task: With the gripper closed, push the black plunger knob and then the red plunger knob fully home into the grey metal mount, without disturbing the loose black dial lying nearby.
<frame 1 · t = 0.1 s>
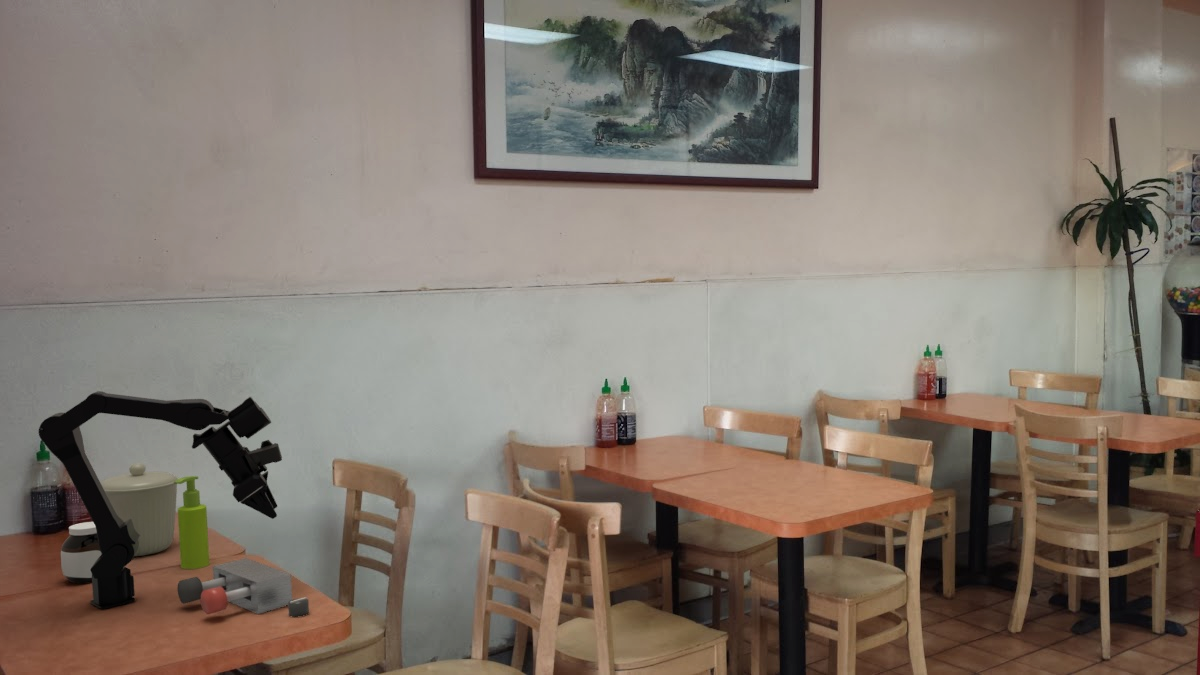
hand: (275, 512, 205), 15 cm above the table, tool tilted 35°, fingers open, 9 cm apart
canister: (142, 552, 236), on the table
dial: (298, 614, 186), on the table
mount: (252, 599, 195), on the table
spread jar: (89, 577, 216), on the table
red knob: (237, 594, 188), point 4 cm above the table, slide at 0.0 cm
soap dispenser: (193, 566, 221), on the table
black knob: (212, 584, 195), point 4 cm above the table, slide at 0.0 cm
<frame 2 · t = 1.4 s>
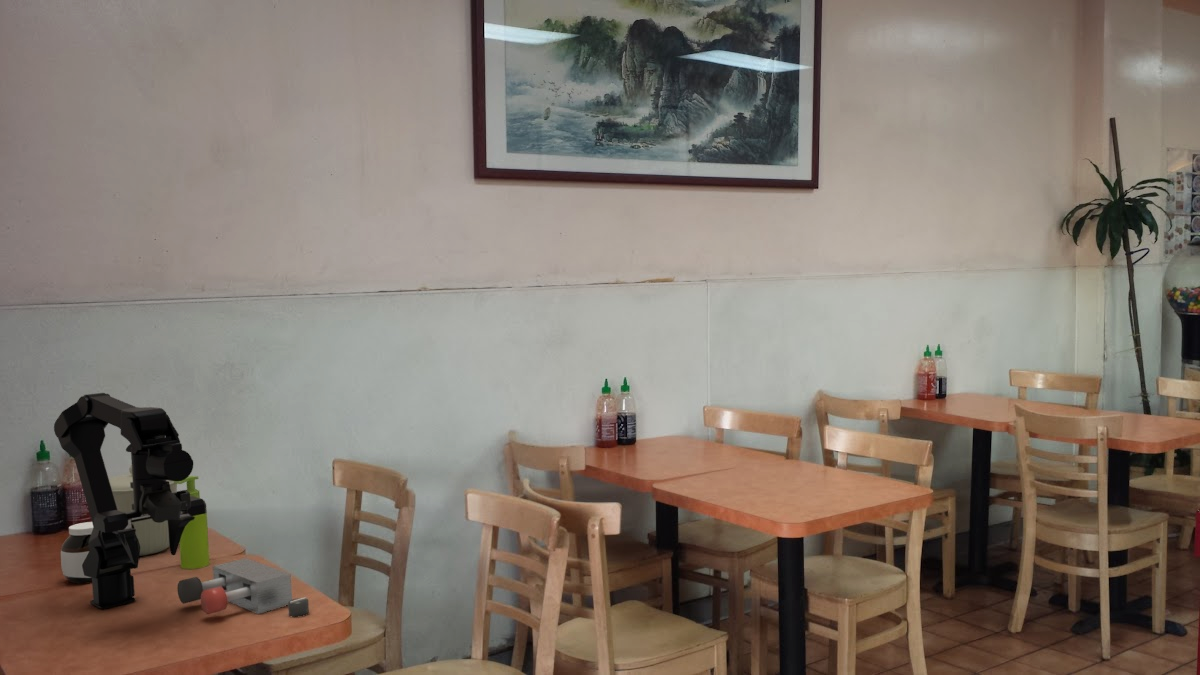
hand: (154, 559, 186), 11 cm above the table, tool pointing down, fingers open, 7 cm apart
nothing on the table moved.
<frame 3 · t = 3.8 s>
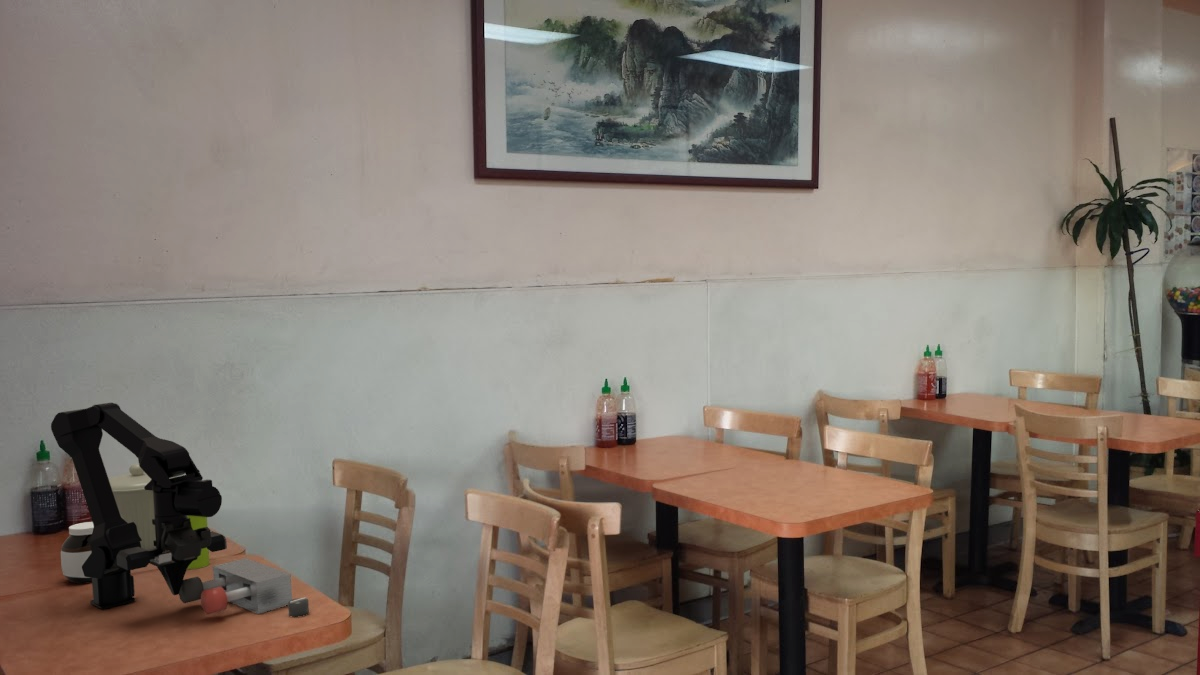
hand: (175, 594, 189), 3 cm above the table, tool pointing down, fingers closed
black knob: (213, 584, 195), point 4 cm above the table, slide at 0.2 cm, touching gripper
everything else where it was.
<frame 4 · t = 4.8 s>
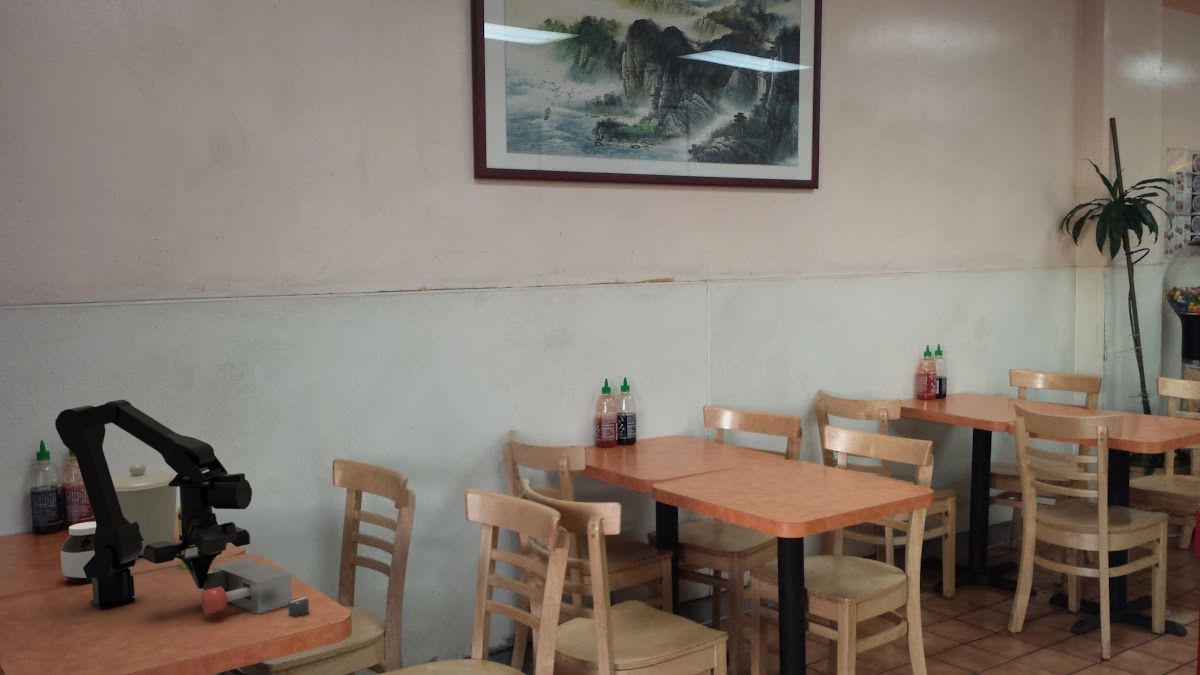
hand: (200, 588, 193), 3 cm above the table, tool pointing down, fingers closed
black knob: (236, 578, 198), point 4 cm above the table, slide at 4.9 cm, touching gripper
everything else where it was.
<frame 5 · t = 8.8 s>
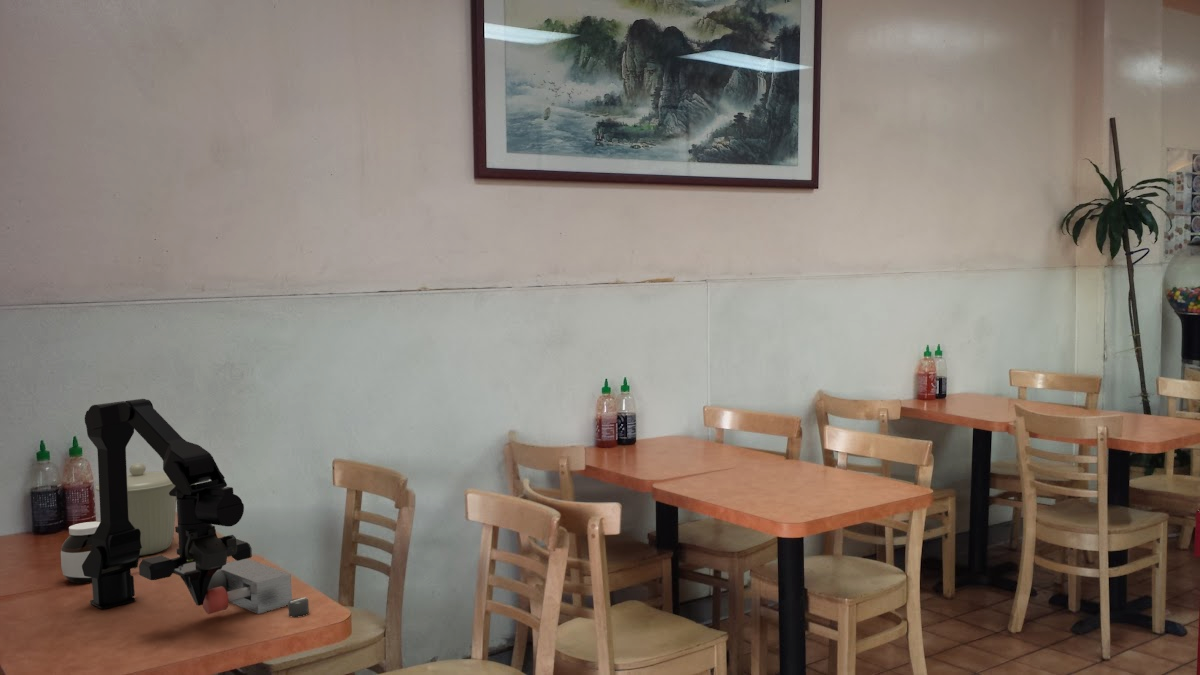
hand: (199, 605, 183), 3 cm above the table, tool pointing down, fingers closed
red knob: (238, 593, 188), point 4 cm above the table, slide at 0.3 cm, touching gripper
black knob: (236, 578, 198), point 4 cm above the table, slide at 4.8 cm
everything else where it was.
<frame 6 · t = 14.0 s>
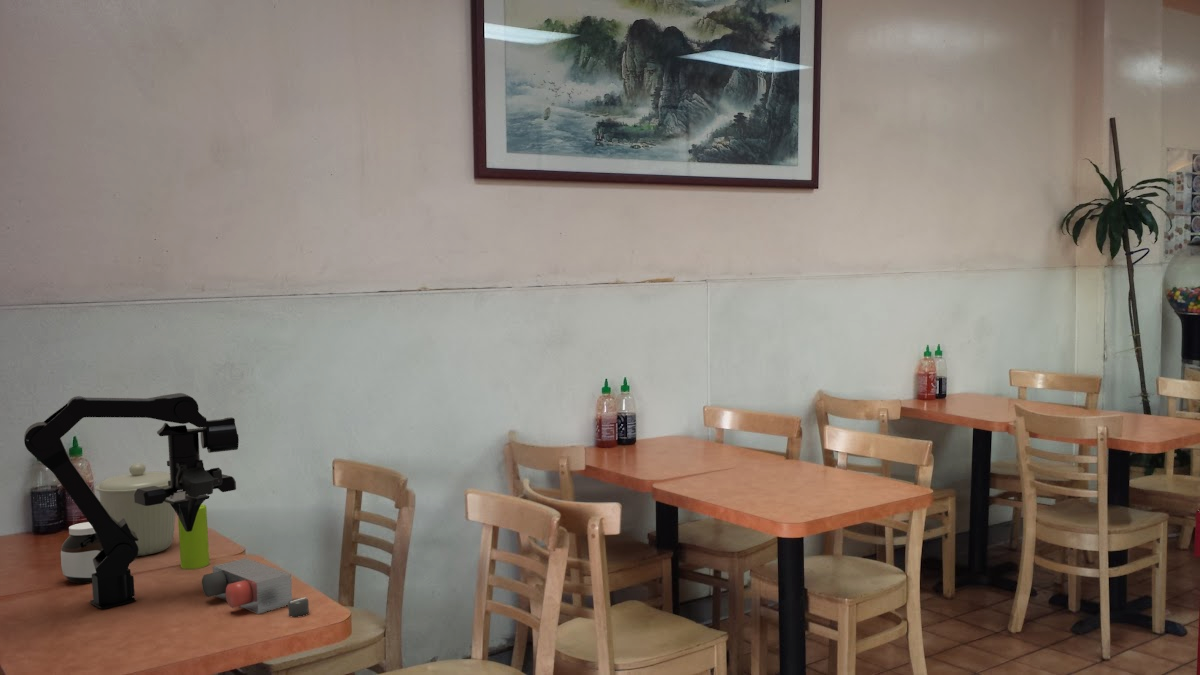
hand: (188, 531, 203), 12 cm above the table, tool pointing down, fingers closed
red knob: (260, 588, 191), point 4 cm above the table, slide at 4.8 cm
everything else where it was.
at the end: black knob slide at 4.8 cm; red knob slide at 4.8 cm; dial moved 0.1 cm from its start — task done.
